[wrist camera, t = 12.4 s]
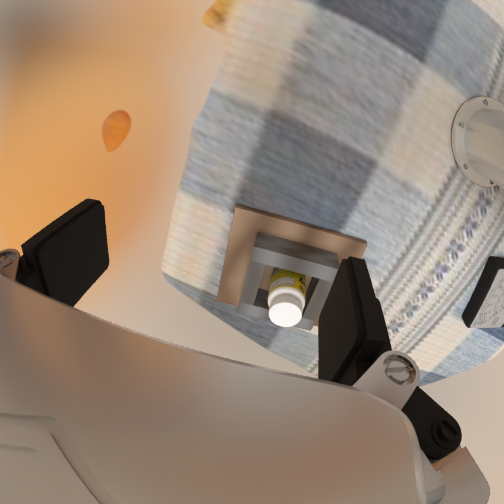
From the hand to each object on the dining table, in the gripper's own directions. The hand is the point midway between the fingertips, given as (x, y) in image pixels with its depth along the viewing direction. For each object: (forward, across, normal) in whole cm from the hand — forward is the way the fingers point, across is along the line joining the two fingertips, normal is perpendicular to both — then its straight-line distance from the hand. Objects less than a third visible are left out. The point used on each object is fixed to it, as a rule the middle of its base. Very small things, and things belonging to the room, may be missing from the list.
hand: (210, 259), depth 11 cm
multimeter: (+28, -48, +12) cm, 56 cm away
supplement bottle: (+26, -6, +17) cm, 31 cm away
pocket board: (+26, -5, +17) cm, 32 cm away
